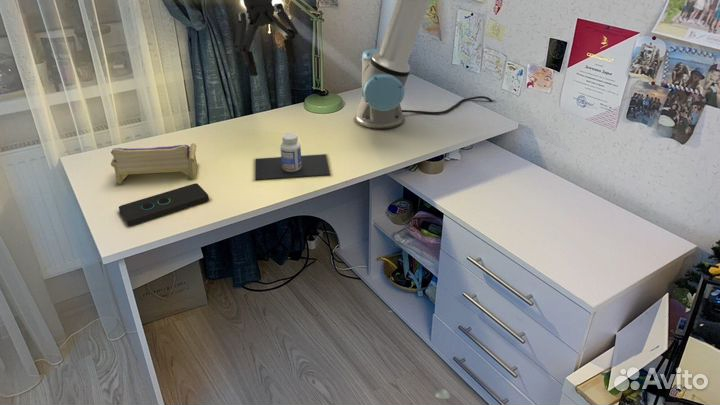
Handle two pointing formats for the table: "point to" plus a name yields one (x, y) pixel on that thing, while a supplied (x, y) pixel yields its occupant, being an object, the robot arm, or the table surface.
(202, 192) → the smart home device
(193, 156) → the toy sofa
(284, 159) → the pill bottle
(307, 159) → the mat
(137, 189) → the table surface
